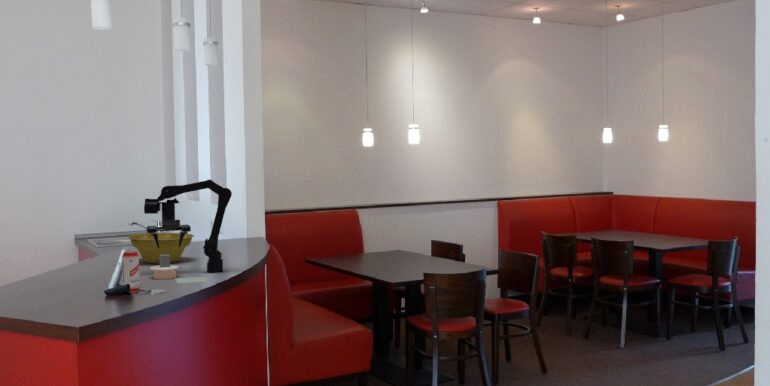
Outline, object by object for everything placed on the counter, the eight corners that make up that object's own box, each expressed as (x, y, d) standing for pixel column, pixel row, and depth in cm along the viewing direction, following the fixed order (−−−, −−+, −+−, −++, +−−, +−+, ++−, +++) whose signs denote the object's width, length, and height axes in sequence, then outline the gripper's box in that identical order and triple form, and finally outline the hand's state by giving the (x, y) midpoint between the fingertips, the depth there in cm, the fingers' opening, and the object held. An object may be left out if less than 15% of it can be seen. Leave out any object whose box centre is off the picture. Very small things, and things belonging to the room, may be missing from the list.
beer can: (142, 291, 286) (142, 251, 285) (132, 294, 280) (131, 252, 279) (129, 290, 288) (129, 250, 287) (119, 293, 282) (118, 252, 281)
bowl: (174, 276, 322) (174, 266, 322) (176, 279, 313) (176, 269, 313) (153, 277, 319) (153, 267, 318) (154, 281, 310) (154, 270, 310)
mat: (204, 278, 318) (204, 276, 318) (209, 282, 306) (209, 281, 306) (174, 279, 313) (174, 278, 313) (177, 284, 301) (177, 283, 301)
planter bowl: (207, 260, 374) (207, 234, 374) (157, 268, 347) (157, 240, 346) (165, 256, 391) (164, 231, 391) (114, 263, 364) (114, 236, 364)
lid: (177, 265, 324) (177, 253, 323) (180, 269, 312) (180, 256, 312) (149, 267, 319) (149, 254, 319) (151, 271, 308) (151, 257, 308)
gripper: (147, 215, 317) (148, 250, 318) (191, 214, 324) (192, 248, 325) (146, 213, 327) (146, 248, 328) (188, 212, 334) (189, 246, 335)
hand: (169, 247), depth 329 cm, fingers open, 9 cm apart
